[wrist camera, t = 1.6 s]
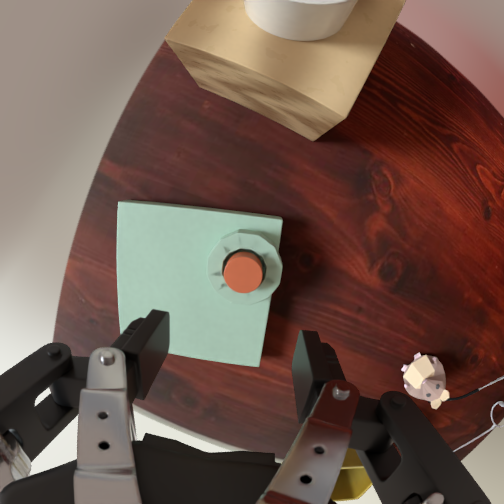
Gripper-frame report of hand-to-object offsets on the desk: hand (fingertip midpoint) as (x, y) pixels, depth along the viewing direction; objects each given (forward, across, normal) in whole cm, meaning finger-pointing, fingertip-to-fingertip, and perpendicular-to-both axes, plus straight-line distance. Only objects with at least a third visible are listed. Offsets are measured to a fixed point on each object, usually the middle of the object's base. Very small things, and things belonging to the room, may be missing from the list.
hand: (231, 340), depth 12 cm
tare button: (+10, 0, 0) cm, 10 cm away
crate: (+14, -1, -18) cm, 22 cm away
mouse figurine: (+14, -23, +12) cm, 29 cm away
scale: (+14, +4, +3) cm, 15 cm away
